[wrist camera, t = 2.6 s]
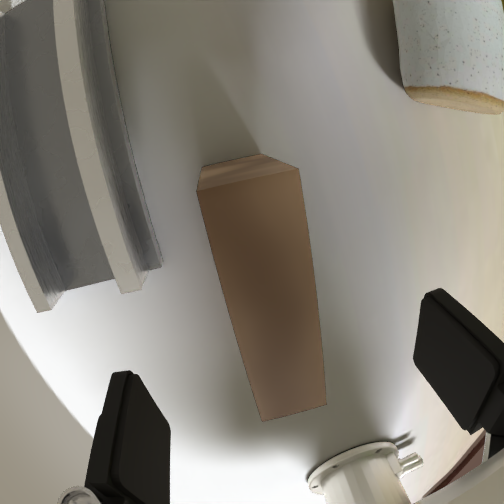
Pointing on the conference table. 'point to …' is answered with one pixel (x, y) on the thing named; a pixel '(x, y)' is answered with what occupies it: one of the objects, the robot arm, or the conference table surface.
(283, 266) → the door panel
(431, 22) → the ceramic mug
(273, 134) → the conference table surface
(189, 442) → the conference table surface
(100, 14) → the floor track
